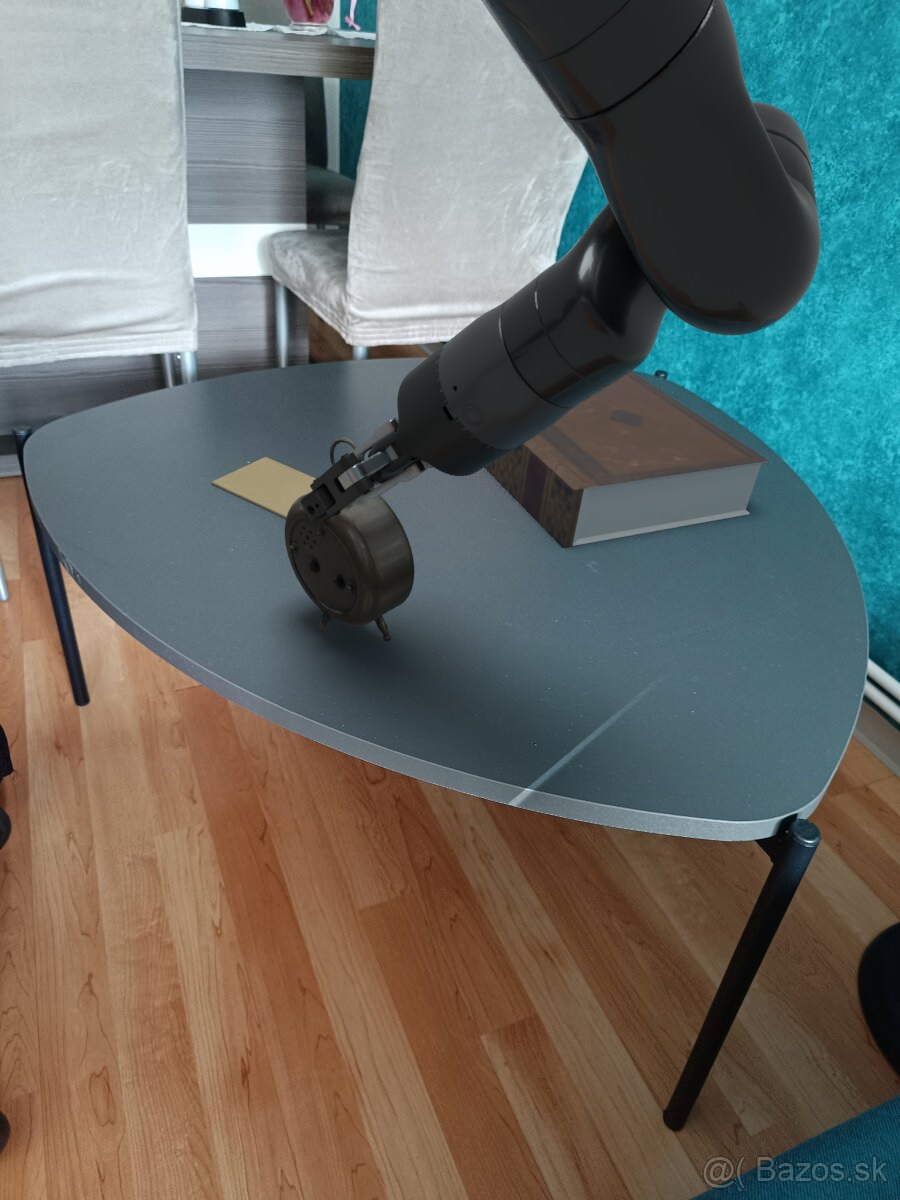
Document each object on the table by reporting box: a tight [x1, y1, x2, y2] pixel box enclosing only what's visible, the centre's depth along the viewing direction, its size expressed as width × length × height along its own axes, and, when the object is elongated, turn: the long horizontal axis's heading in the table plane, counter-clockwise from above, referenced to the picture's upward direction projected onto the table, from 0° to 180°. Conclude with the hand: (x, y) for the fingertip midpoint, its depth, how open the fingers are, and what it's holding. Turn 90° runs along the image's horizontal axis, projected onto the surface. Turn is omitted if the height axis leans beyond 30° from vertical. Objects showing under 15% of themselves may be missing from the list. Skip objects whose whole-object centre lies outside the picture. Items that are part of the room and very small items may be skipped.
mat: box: [211, 456, 317, 519], centre depth 88 cm, size 8×12×1 cm, turn 56°
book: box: [484, 371, 769, 548], centre depth 96 cm, size 24×28×7 cm
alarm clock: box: [284, 437, 416, 643], centre depth 63 cm, size 11×5×16 cm, turn 47°
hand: (335, 498), depth 62 cm, fingers closed on alarm clock, 5 cm apart
